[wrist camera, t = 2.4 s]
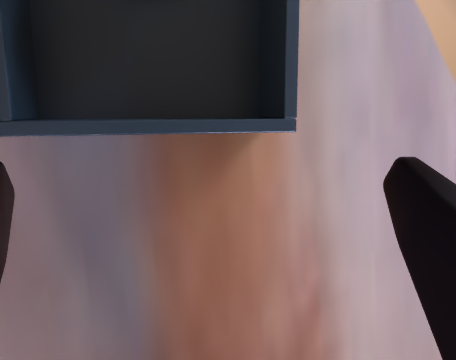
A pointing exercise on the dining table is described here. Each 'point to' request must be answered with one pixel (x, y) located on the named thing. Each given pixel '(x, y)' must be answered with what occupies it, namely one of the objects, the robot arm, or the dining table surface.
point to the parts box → (148, 67)
